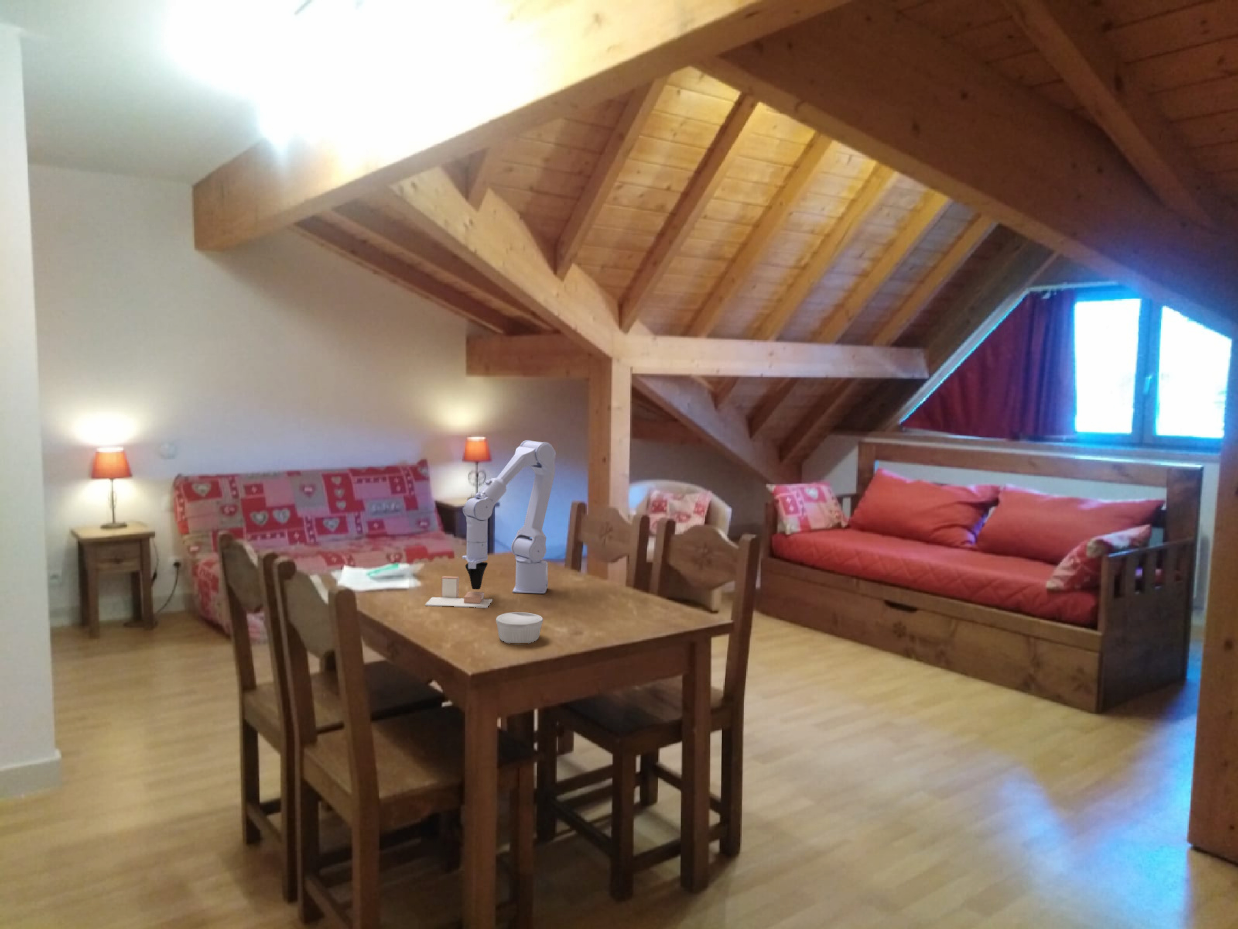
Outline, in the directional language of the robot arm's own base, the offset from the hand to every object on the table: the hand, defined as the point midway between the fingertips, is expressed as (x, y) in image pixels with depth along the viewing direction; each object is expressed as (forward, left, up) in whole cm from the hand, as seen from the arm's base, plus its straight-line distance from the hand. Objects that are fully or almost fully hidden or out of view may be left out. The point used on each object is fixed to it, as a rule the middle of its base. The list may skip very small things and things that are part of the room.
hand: (476, 588), depth 250 cm
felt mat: (+4, +5, -3) cm, 7 cm away
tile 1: (+8, -1, -3) cm, 8 cm away
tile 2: (0, 0, -2) cm, 2 cm away
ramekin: (-17, +35, -3) cm, 39 cm away
